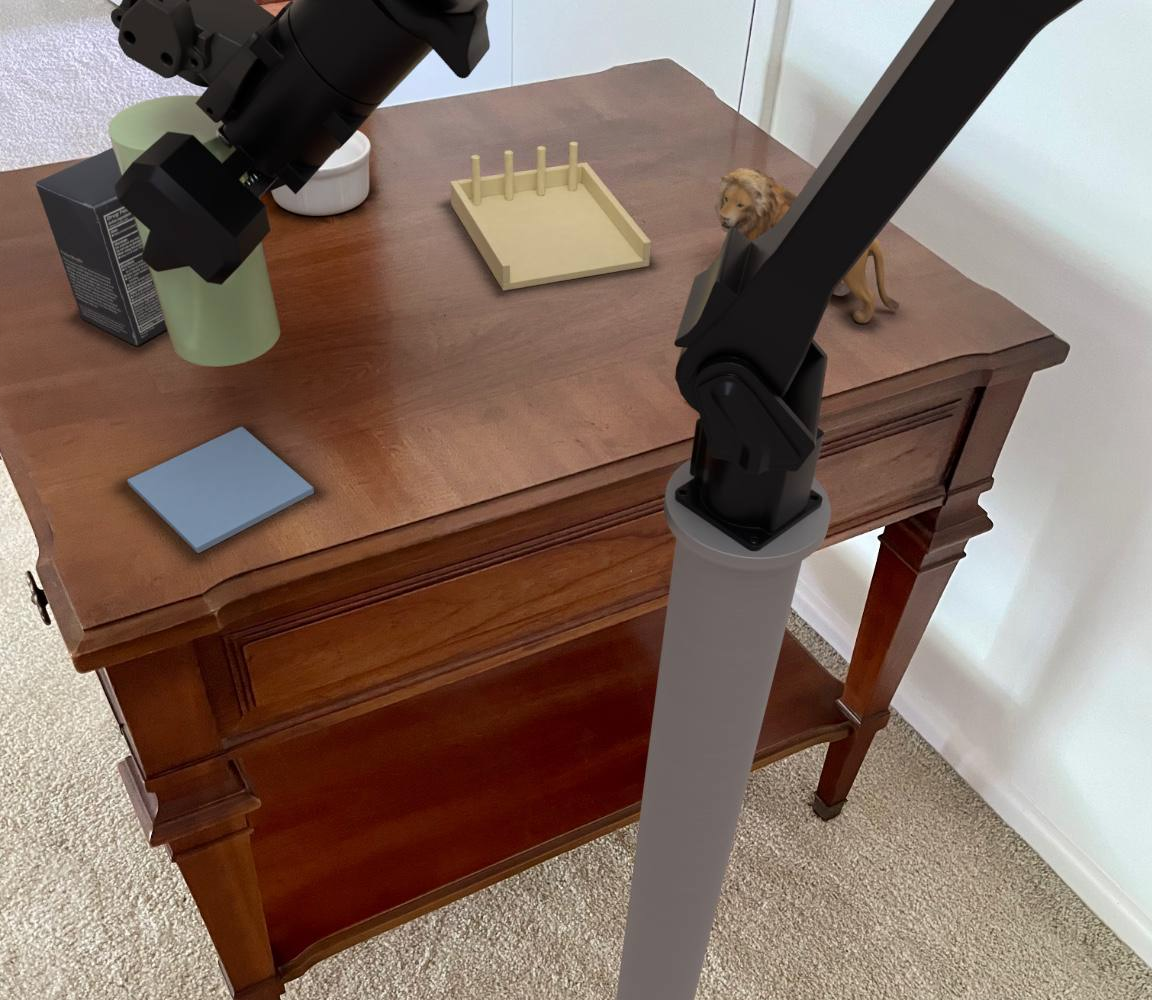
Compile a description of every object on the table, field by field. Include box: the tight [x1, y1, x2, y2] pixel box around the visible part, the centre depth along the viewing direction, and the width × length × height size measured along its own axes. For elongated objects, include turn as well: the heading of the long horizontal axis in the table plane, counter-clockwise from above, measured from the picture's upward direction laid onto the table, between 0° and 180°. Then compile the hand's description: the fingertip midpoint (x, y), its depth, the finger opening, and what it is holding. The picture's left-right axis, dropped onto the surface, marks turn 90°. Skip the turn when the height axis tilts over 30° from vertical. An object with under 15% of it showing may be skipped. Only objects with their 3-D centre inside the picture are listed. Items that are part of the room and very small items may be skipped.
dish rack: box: [449, 141, 652, 291], centre depth 90 cm, size 14×12×5 cm
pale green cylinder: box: [107, 94, 281, 368], centre depth 63 cm, size 6×6×13 cm
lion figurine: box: [714, 167, 900, 324], centre depth 83 cm, size 15×5×9 cm, turn 73°
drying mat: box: [126, 426, 315, 554], centre depth 69 cm, size 8×8×1 cm
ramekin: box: [271, 129, 372, 217], centre depth 93 cm, size 9×9×4 cm
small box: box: [34, 147, 167, 347], centre depth 79 cm, size 11×6×10 cm, turn 146°
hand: (179, 233), depth 63 cm, fingers closed on pale green cylinder, 6 cm apart
